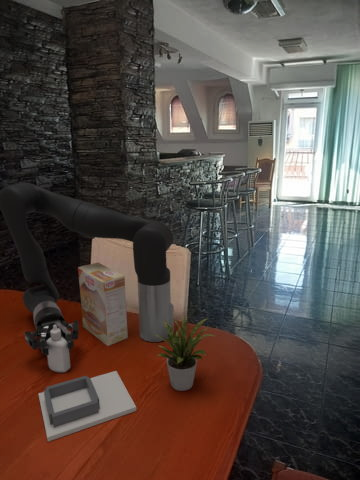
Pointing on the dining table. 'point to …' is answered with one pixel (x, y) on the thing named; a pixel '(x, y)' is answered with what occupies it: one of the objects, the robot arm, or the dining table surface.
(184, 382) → the house plant
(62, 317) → the robot arm
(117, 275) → the coffeecake box
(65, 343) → the eye dropper bottle
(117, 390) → the bottle holder
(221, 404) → the dining table surface
